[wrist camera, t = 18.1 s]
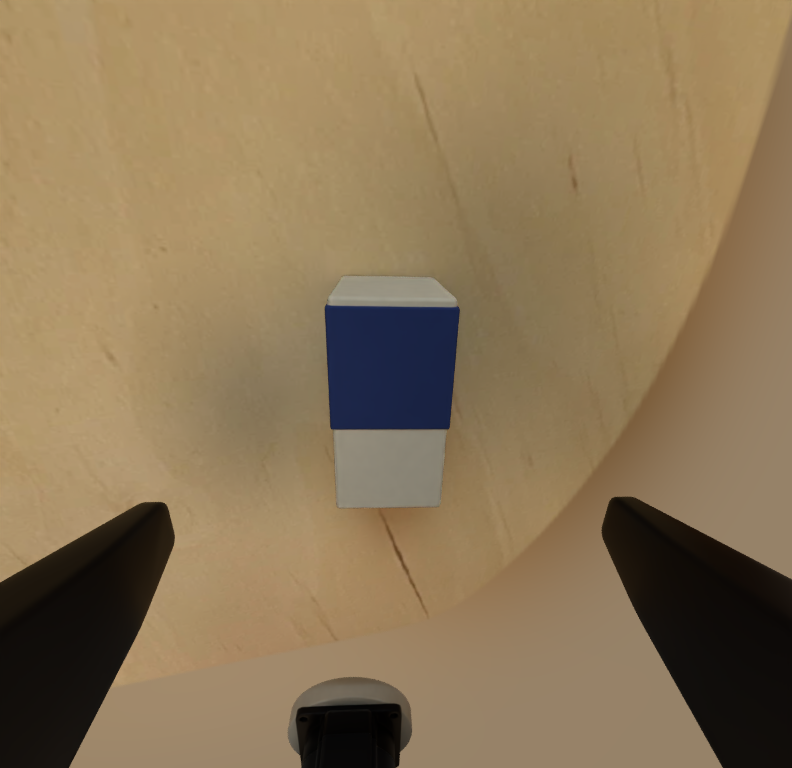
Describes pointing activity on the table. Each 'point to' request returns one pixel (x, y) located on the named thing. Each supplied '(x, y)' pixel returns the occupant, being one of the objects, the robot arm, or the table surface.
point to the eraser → (390, 388)
